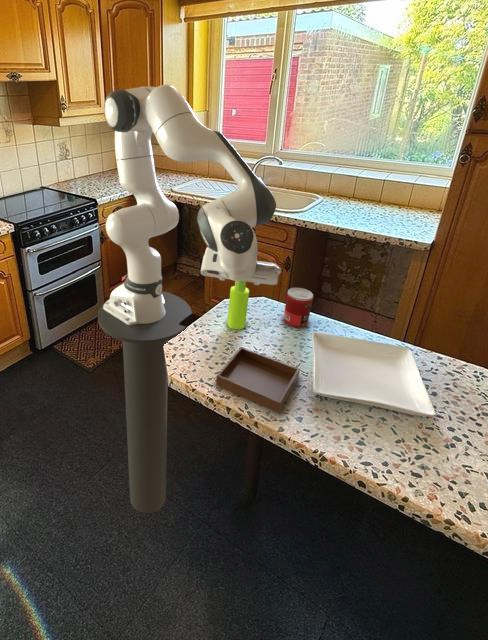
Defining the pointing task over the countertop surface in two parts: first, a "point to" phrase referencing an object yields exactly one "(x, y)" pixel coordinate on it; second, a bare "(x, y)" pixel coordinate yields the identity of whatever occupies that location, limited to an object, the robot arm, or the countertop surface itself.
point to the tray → (258, 378)
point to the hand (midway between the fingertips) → (239, 280)
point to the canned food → (298, 307)
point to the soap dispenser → (238, 305)
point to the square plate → (369, 374)
